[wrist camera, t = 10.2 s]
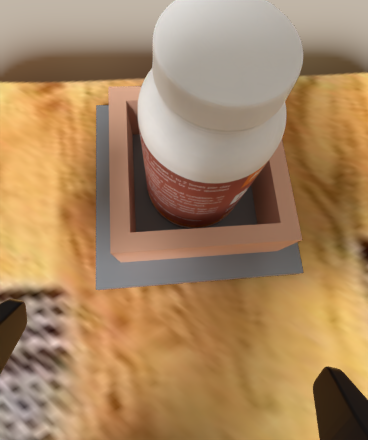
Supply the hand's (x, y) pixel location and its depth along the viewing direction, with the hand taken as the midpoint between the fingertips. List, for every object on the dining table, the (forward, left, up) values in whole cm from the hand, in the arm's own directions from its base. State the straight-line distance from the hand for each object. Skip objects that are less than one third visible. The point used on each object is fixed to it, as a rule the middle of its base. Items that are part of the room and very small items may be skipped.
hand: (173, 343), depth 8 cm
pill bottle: (+7, +6, -9) cm, 13 cm away
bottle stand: (+7, +6, -9) cm, 13 cm away
